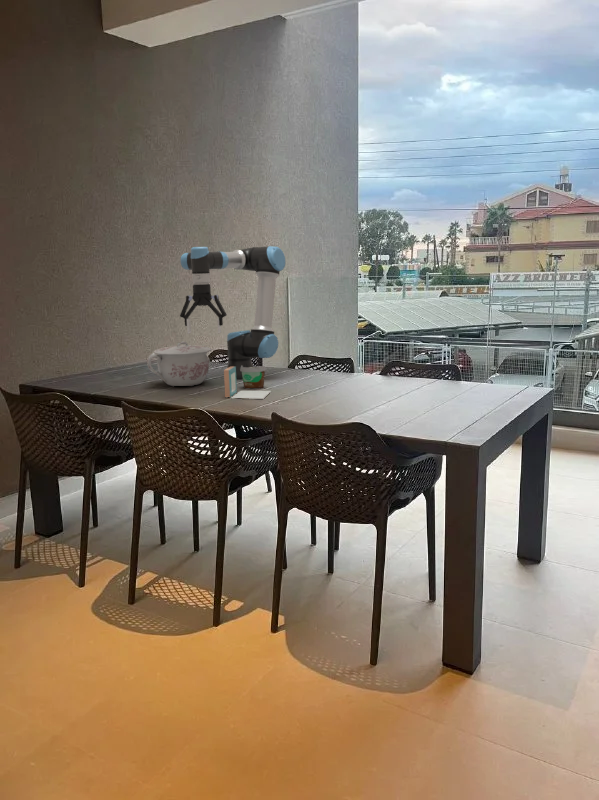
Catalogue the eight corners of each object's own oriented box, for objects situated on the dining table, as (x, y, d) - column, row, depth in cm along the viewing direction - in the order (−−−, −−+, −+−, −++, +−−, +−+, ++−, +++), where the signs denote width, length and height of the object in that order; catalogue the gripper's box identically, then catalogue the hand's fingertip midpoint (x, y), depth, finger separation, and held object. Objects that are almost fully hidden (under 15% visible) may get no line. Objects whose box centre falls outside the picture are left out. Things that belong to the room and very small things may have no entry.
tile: (231, 393, 284) (230, 366, 281) (237, 393, 283) (235, 366, 281) (225, 397, 274) (223, 370, 271) (231, 398, 274) (229, 370, 271)
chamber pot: (219, 379, 320) (217, 337, 315) (206, 389, 293) (203, 344, 289) (164, 379, 322) (161, 338, 318) (146, 390, 296) (143, 345, 291)
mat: (240, 391, 286) (240, 390, 286) (271, 392, 284) (271, 390, 283) (230, 399, 270) (230, 398, 270) (263, 399, 268) (263, 398, 268)
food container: (236, 389, 293) (235, 367, 291) (242, 386, 299) (241, 365, 297) (261, 390, 289) (260, 368, 287) (266, 387, 295) (265, 365, 293)
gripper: (170, 284, 273) (173, 334, 278) (227, 283, 270) (229, 334, 274) (176, 284, 281) (179, 332, 285) (231, 282, 277) (234, 332, 281)
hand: (204, 333), depth 280 cm, fingers open, 13 cm apart
